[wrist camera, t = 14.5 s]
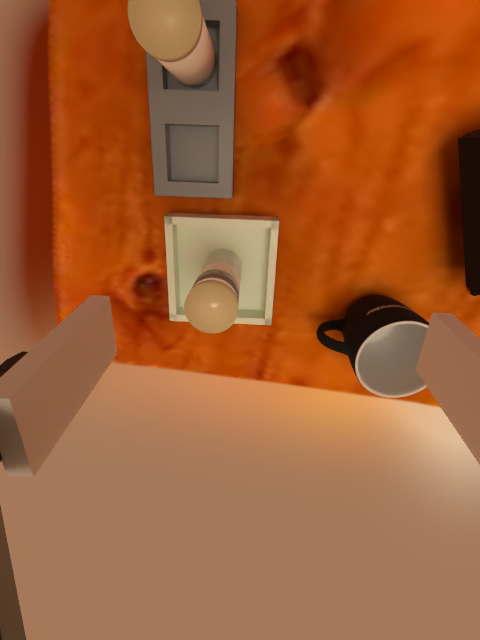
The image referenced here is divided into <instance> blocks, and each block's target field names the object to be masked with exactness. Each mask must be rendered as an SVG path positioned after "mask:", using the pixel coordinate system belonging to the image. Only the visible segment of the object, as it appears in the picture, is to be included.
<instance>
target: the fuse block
mask: <svg viewBox="0 0 480 640" xmlns="http://www.w3.org/2000/svg"><path fill="white" fill-rule="evenodd" d="M237 11H238V10H237V1H236V0H128V19H129V23H130V27H131V30H132V32H133V34H134V36H135V38H136V40H137V41H138V43H139V44H140V45H141V46H142V47H143V48H144V49H145V50H146V65H147V81H148V97H149V113H150V129H151V145H152V161H153V177H154V193H155V196H182V197H208V198H232V197H233V179H234V137H235V95H236V53H237Z"/></svg>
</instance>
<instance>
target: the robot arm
mask: <svg viewBox="0 0 480 640" xmlns="http://www.w3.org/2000/svg"><path fill="white" fill-rule="evenodd" d="M116 354H117V348H116V341H115V334H114V327H113V319H112V312H111V305H110V297H109V296H98V295H91V296H90V297H88V298H87V299H86V300H85V301H84V302H83V303H82V304H81V305H80V306H79V307H77V308H76V309H75V310H74V311H73V312H72V313H71V314H70V315H69V316H68V317H66V318H65V319H64V320H63V321H62V322H61V323H60V324H59V325H58V326H57V327H55V328H54V329H53V330H52V331H51V332H50V333H49V334H48V335H47V336H46V337H44V338H43V339H42V340H41V341H40V342H39V343H38V344H37V345H36V346H35V347H33V348H32V349H31V350H30V351H29V352H21V353H19V354H17V355H15V356H13V357H11V358H9V359H7V360H6V361H5V362H3V364H1V365H0V462H1V460H2V463H3V466H4V468H5V471H6V474H7V475H10V476H26V477H34V476H35V474H36V473H37V471H38V470H39V468H40V467H41V465H42V464H43V463H44V461H45V460H46V458H47V457H48V455H49V454H50V452H51V451H52V449H53V448H54V446H55V445H56V443H57V442H58V440H59V439H60V437H61V436H62V434H63V433H64V431H65V430H66V428H67V427H68V425H69V424H70V422H71V421H72V420H73V418H74V416H75V415H76V413H77V412H78V411H79V409H80V408H81V406H82V405H83V403H84V402H85V400H86V399H87V397H88V396H89V394H90V393H91V391H92V390H93V388H94V387H95V385H96V384H97V382H98V381H99V379H100V378H101V376H102V375H103V374H104V372H105V371H106V369H107V368H108V366H109V365H110V363H111V362H112V360H113V359H114V357H115V356H116ZM416 371H417V373H418V374H419V376H420V377H421V379H422V380H423V382H424V383H425V385H426V386H427V388H428V389H429V391H430V392H431V394H432V395H433V396H434V398H435V399H436V401H437V402H438V404H439V405H440V407H441V408H442V410H443V411H444V413H445V414H446V416H447V417H448V419H449V420H450V421H451V423H452V424H453V426H454V427H455V429H456V430H457V432H458V433H459V435H460V436H461V438H462V439H463V441H464V442H465V444H466V445H467V446H468V448H469V449H470V451H471V452H472V454H473V455H474V457H475V458H476V460H477V461H478V463H479V464H480V338H479V337H478V336H476V335H475V334H474V333H473V332H472V331H471V330H470V329H469V328H468V327H466V326H465V325H464V324H463V323H462V322H461V321H460V320H459V319H457V318H456V317H455V316H454V315H453V314H452V313H432V316H431V319H430V323H429V326H428V329H427V333H426V336H425V339H424V343H423V346H422V349H421V353H420V356H419V359H418V363H417V366H416ZM0 640H26V637H25V632H24V626H23V621H22V616H21V611H20V606H19V600H18V595H17V590H16V585H15V580H14V574H13V569H12V564H11V559H10V554H9V549H8V543H7V538H6V533H5V528H4V523H3V517H2V513H1V508H0Z"/></svg>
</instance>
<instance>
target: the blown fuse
mask: <svg viewBox="0 0 480 640" xmlns="http://www.w3.org/2000/svg"><path fill="white" fill-rule="evenodd" d="M241 276H242V263H241V260H240V258H239V257H238V256H237V255H236V254H235V253H234V252H232V251H230V250H226V249H220V250H216V251H214V252H212V253H211V254H210V255H209V256H208V258H207V260H206V262H205V264H204V266H203V268H202V270H201V272H200V274H199V276H198V278H197V279H196V281H195V283H194V285H193V287H192V289H191V290H190V291H189V293H188V295H187V297H186V300H185V303H184V311H185V315H186V318H187V319H188V321H189V322H190V324H191V325H192V326H194V327H195V328H196V329H198V330H200V331H202V332H205V333H219V332H222V331H225V330H227V329H228V328H229V327H230V326H232V324H233V323H234V322H235V320H236V317H237V314H238V302H239V294H240V291H239V290H240V283H241Z"/></svg>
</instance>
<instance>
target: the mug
mask: <svg viewBox="0 0 480 640" xmlns="http://www.w3.org/2000/svg"><path fill="white" fill-rule="evenodd" d="M428 326H429V323H428V322H427V321H426V320H425V319H423V318H422V317H421V316H420V315H418V314H417V313H416V312H414V311H413V310H411V309H410V308H408V307H407V306H405V305H403V304H402V303H400V302H398V301H396V300H394V299H391V298H388V297H385V296H368V297H365V298H362V299H360V300H358V301H357V302H355V303H354V304H353V305H352V306H351V307H350V308H349V310H348V311H347V313H346V315H345V317H344V318H343V319H339V320H332V321H327V322H324V323H322V324H321V325H320V326H319V327H318V329H317V337H318V340H319V341H320V342H321V343H322V344H323V345H324V346H326V347H327V348H329V349H332V350H334V351H337V352H340V353H343V354H346V355H348V357H349V360H350V363H351V365H352V368H353V370H354V372H355V374H356V376H357V378H358V380H359V381H360V383H361V384H362V385H363V386H364V387H365V388H366V389H367V390H369V391H370V392H372V393H374V394H376V395H379V396H383V397H392V398H395V397H404V396H408V395H412V394H414V393H417V392H419V391H421V390H423V389H424V388H426V387H427V386H426V385H425V383H424V382H423V380H422V379H421V377H420V376H419V374H418V373H417V371H416V366H417V363H418V359H419V356H420V353H421V349H422V346H423V343H424V339H425V336H426V333H427V329H428ZM328 330H339V331H341V332H342V333H343V337H344V342H340V341H337V340H334V339H332V338H330V337H328V336H327V335H326V334H325V333H324V332H325V331H328Z"/></svg>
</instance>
